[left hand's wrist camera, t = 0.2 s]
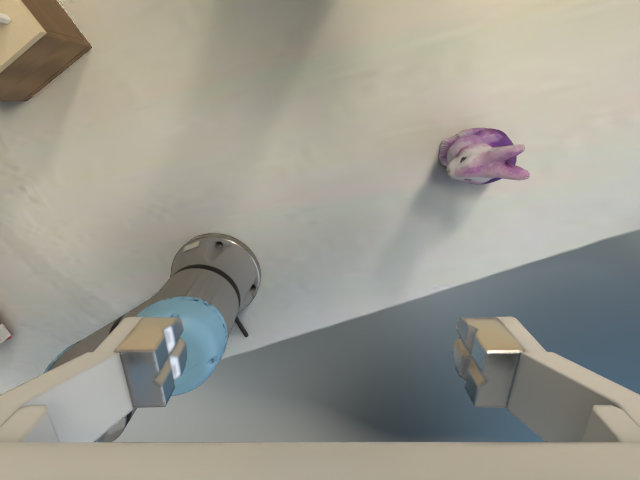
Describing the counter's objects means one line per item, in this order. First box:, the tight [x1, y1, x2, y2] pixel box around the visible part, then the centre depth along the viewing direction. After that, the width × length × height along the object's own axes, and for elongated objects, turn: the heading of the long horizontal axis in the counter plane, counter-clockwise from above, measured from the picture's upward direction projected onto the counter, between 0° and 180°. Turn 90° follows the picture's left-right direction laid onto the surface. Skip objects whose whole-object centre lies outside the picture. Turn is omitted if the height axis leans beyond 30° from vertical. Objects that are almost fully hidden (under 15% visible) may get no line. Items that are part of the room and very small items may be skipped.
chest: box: [0, 0, 92, 101], centre depth 45 cm, size 14×10×9 cm
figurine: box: [439, 128, 530, 184], centre depth 48 cm, size 9×10×15 cm
